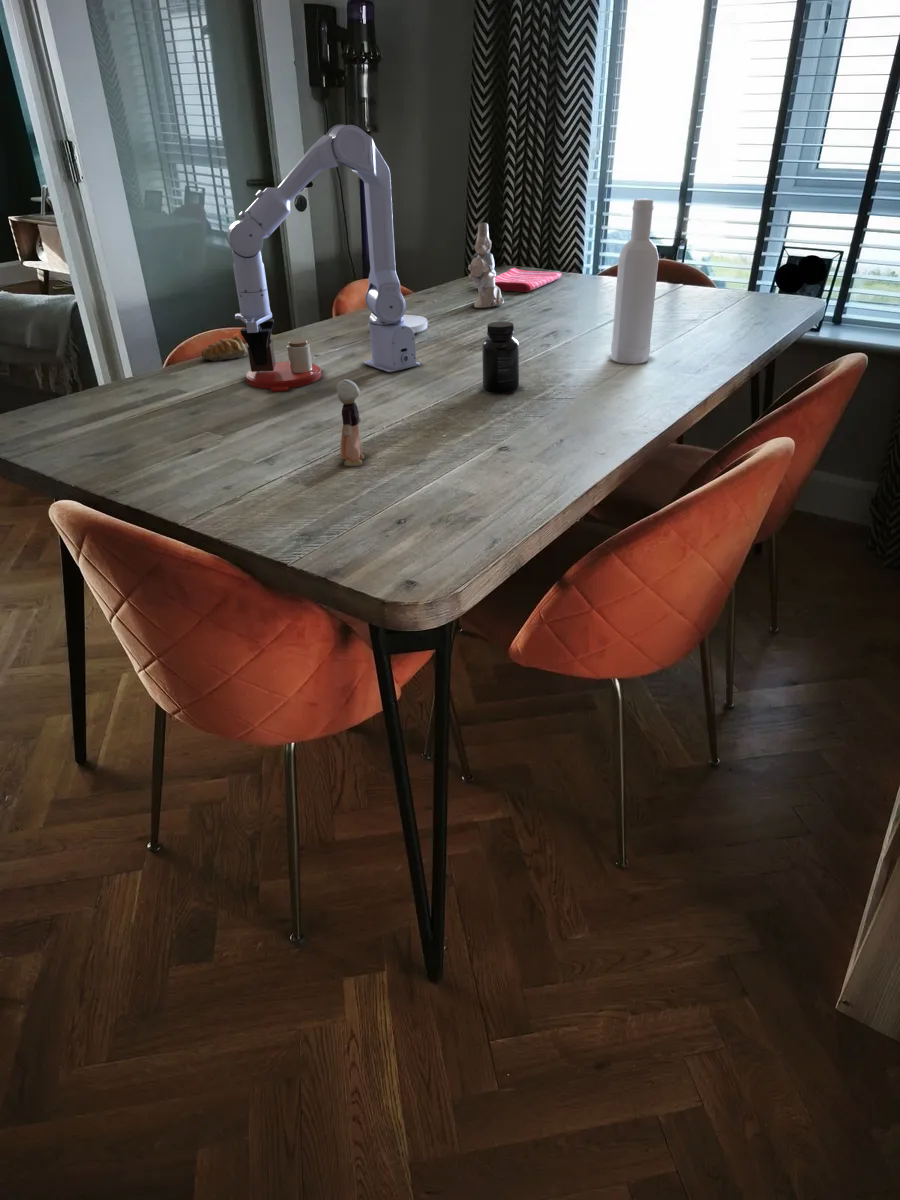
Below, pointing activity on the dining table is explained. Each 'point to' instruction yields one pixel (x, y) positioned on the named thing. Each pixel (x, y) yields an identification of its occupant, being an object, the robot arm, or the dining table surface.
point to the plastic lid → (415, 323)
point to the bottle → (635, 290)
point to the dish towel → (524, 279)
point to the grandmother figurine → (350, 424)
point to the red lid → (282, 377)
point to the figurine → (484, 271)
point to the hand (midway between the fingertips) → (262, 361)
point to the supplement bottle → (500, 359)
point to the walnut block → (270, 360)
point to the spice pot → (299, 356)
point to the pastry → (225, 349)
